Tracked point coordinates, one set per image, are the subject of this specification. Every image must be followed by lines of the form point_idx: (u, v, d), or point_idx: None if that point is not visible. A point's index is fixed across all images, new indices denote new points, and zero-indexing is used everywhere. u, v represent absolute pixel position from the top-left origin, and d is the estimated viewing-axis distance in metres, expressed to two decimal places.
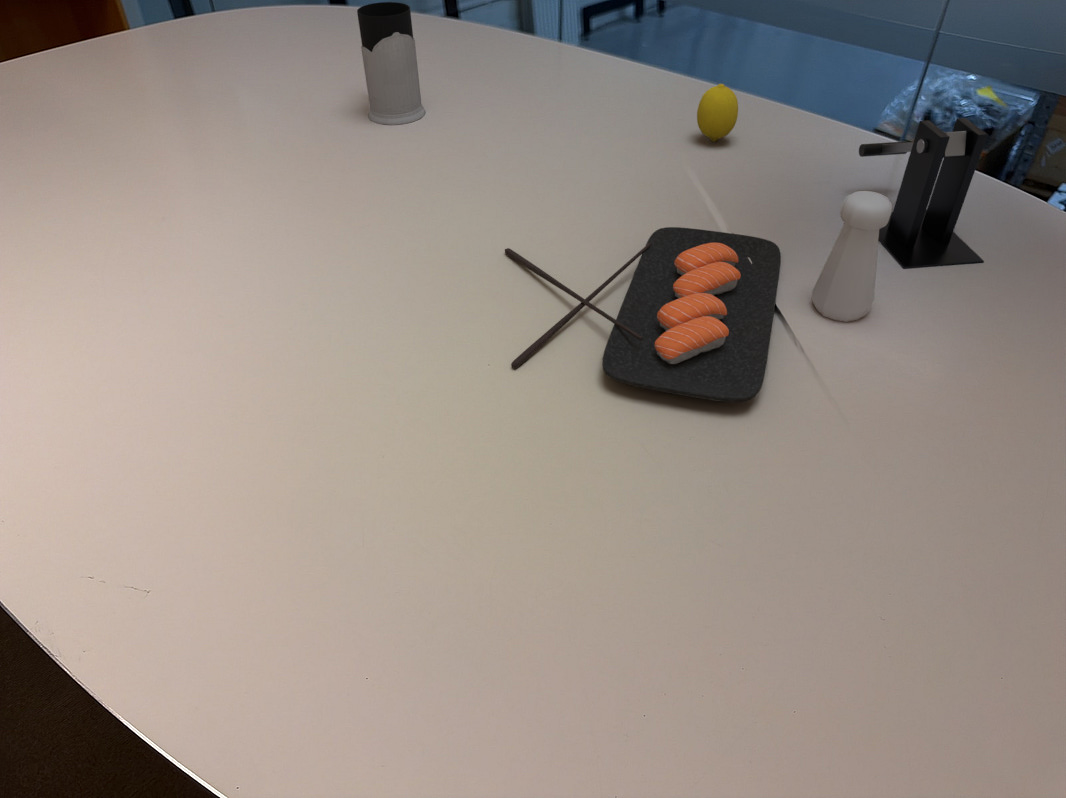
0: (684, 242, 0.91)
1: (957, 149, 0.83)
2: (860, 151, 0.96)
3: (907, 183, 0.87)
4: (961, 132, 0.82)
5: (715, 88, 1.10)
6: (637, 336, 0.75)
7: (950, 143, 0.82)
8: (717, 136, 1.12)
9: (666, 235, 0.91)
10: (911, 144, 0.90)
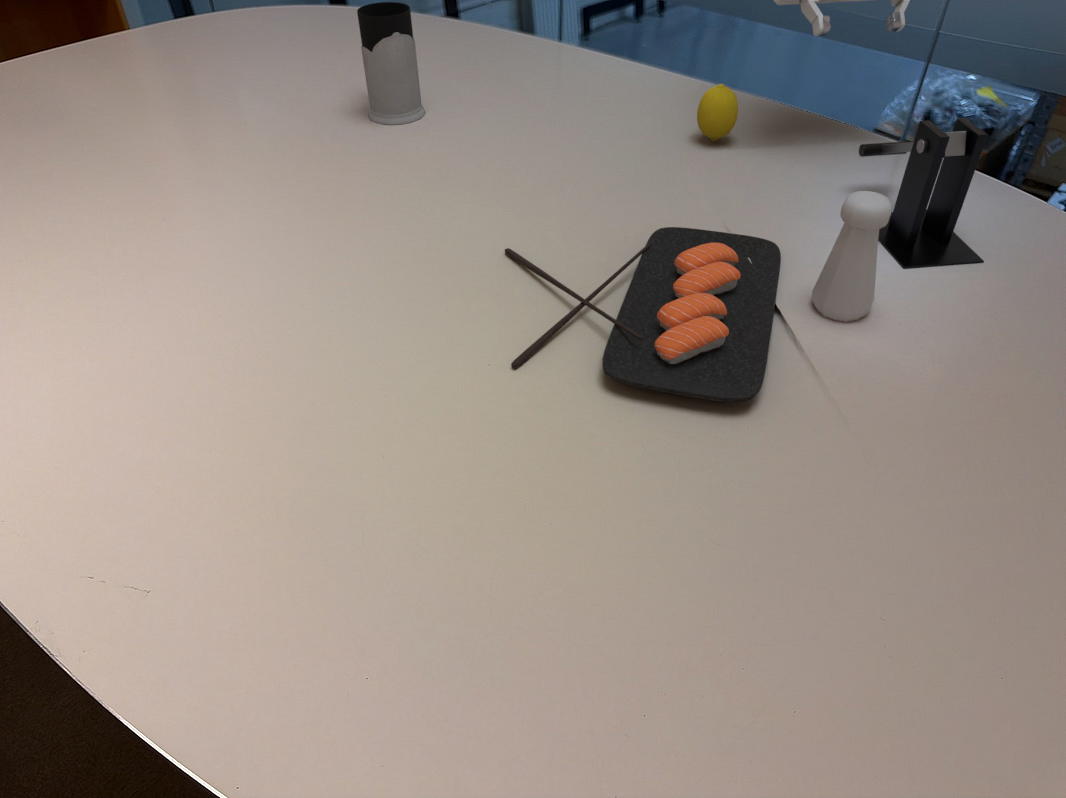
0: (684, 242, 0.91)
1: (957, 149, 0.83)
2: (860, 151, 0.96)
3: (907, 183, 0.87)
4: (961, 132, 0.82)
5: (715, 88, 1.10)
6: (637, 336, 0.75)
7: (950, 143, 0.82)
8: (717, 136, 1.12)
9: (666, 235, 0.91)
10: (911, 144, 0.90)
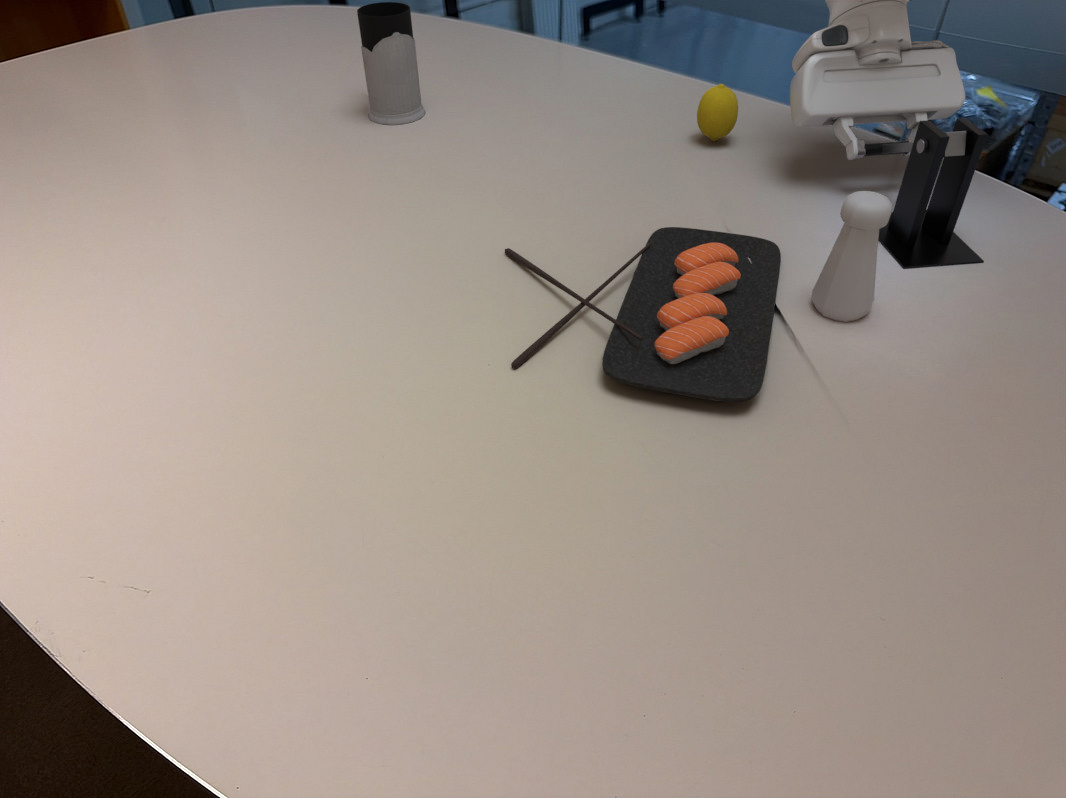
0: (684, 242, 0.91)
1: (957, 149, 0.83)
2: None
3: (907, 183, 0.87)
4: (961, 132, 0.82)
5: (715, 88, 1.10)
6: (637, 336, 0.75)
7: (950, 143, 0.82)
8: (717, 136, 1.12)
9: (667, 235, 0.91)
10: (911, 144, 0.90)
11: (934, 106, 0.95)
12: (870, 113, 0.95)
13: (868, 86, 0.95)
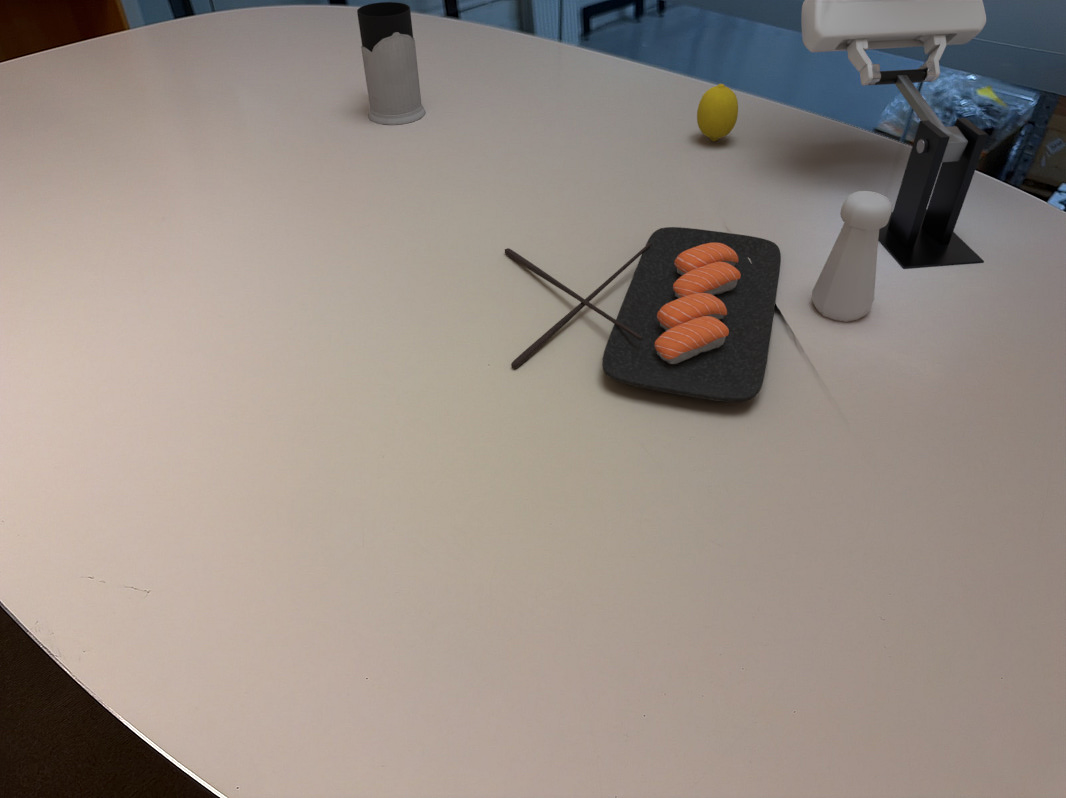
0: (684, 242, 0.91)
1: (953, 157, 0.83)
2: None
3: (907, 183, 0.87)
4: (962, 143, 0.82)
5: (715, 88, 1.10)
6: (637, 336, 0.75)
7: (948, 152, 0.83)
8: (717, 136, 1.12)
9: (666, 235, 0.91)
10: (920, 110, 0.87)
11: (953, 28, 0.91)
12: (886, 35, 0.90)
13: (884, 6, 0.90)
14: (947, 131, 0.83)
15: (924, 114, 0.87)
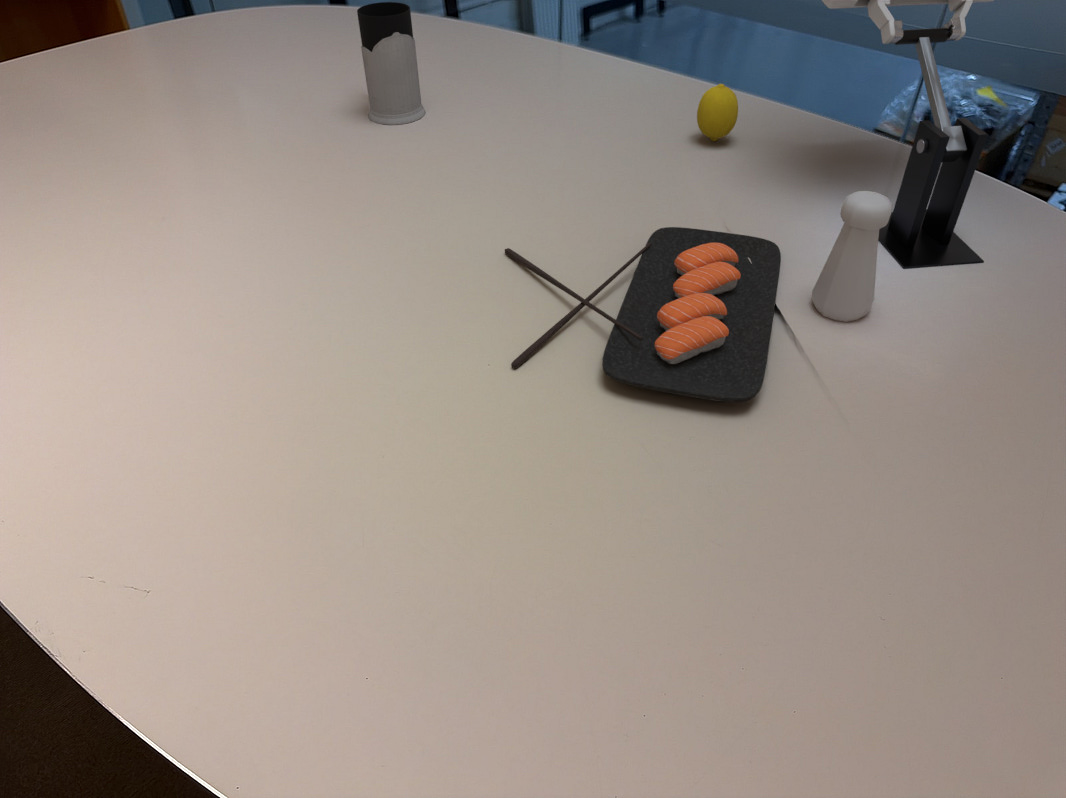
0: (684, 242, 0.91)
1: (949, 159, 0.84)
2: None
3: (907, 183, 0.87)
4: (961, 150, 0.83)
5: (715, 88, 1.10)
6: (637, 336, 0.75)
7: (945, 156, 0.83)
8: (717, 136, 1.12)
9: (666, 235, 0.91)
10: (931, 92, 0.85)
11: None
12: None
13: None
14: (949, 133, 0.83)
15: (934, 100, 0.85)
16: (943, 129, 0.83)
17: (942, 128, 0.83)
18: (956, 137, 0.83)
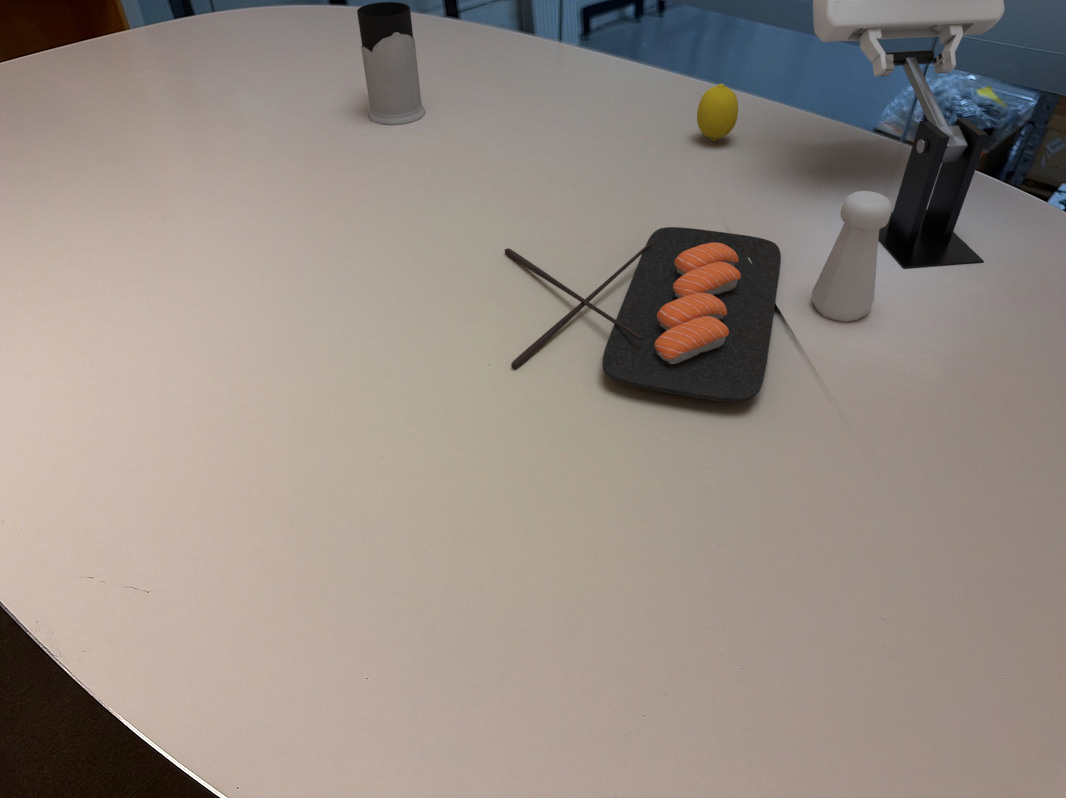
0: (684, 242, 0.91)
1: (951, 158, 0.84)
2: None
3: (907, 183, 0.87)
4: (962, 146, 0.82)
5: (715, 88, 1.10)
6: (637, 336, 0.75)
7: (947, 154, 0.83)
8: (717, 136, 1.12)
9: (666, 235, 0.91)
10: (924, 101, 0.86)
11: (970, 18, 0.88)
12: (901, 24, 0.87)
13: None
14: (948, 131, 0.83)
15: (928, 107, 0.86)
16: (941, 128, 0.83)
17: (940, 128, 0.83)
18: (955, 135, 0.83)
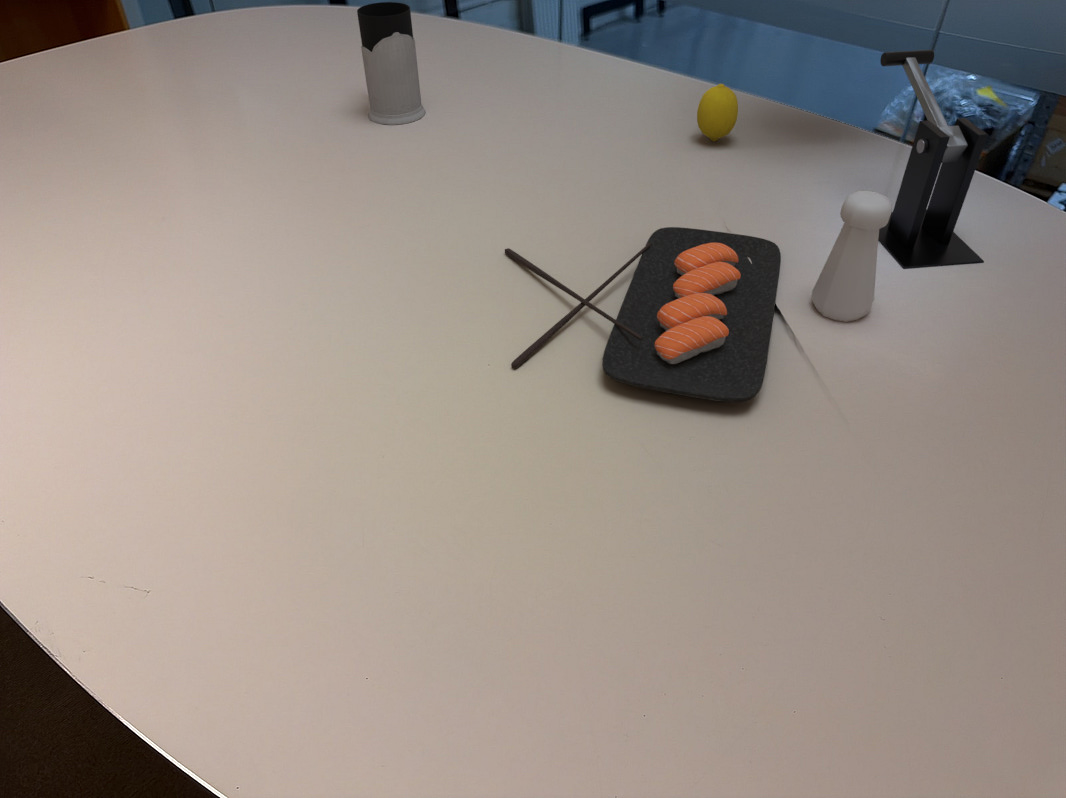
0: (684, 242, 0.91)
1: (951, 158, 0.84)
2: (882, 58, 0.90)
3: (907, 183, 0.87)
4: (962, 146, 0.82)
5: (715, 88, 1.10)
6: (637, 336, 0.75)
7: (947, 154, 0.83)
8: (717, 136, 1.12)
9: (666, 235, 0.91)
10: (924, 101, 0.86)
11: None
12: None
13: None
14: (948, 131, 0.83)
15: (928, 107, 0.86)
16: (941, 128, 0.83)
17: (940, 128, 0.83)
18: (955, 135, 0.83)
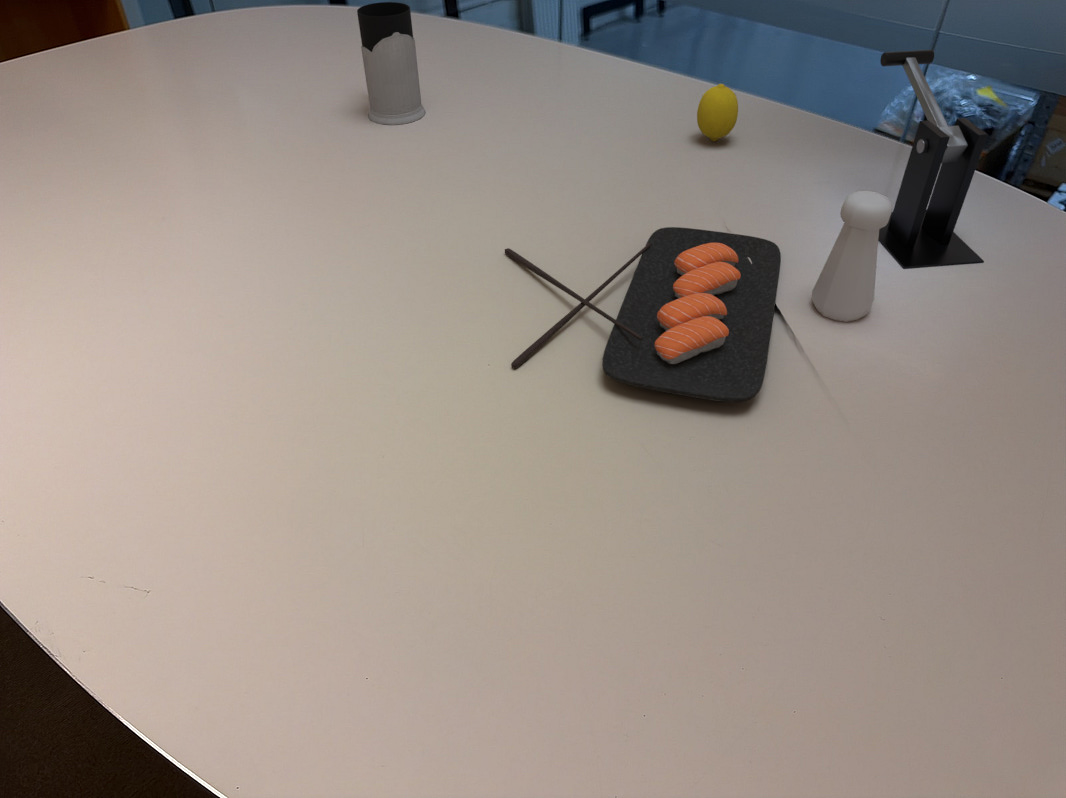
0: (684, 242, 0.91)
1: (951, 158, 0.84)
2: (882, 58, 0.90)
3: (907, 183, 0.87)
4: (962, 146, 0.82)
5: (715, 88, 1.10)
6: (637, 336, 0.75)
7: (947, 154, 0.83)
8: (717, 136, 1.12)
9: (666, 235, 0.91)
10: (924, 101, 0.86)
11: None
12: None
13: None
14: (948, 131, 0.83)
15: (928, 107, 0.86)
16: (941, 128, 0.83)
17: (940, 128, 0.83)
18: (955, 135, 0.83)
